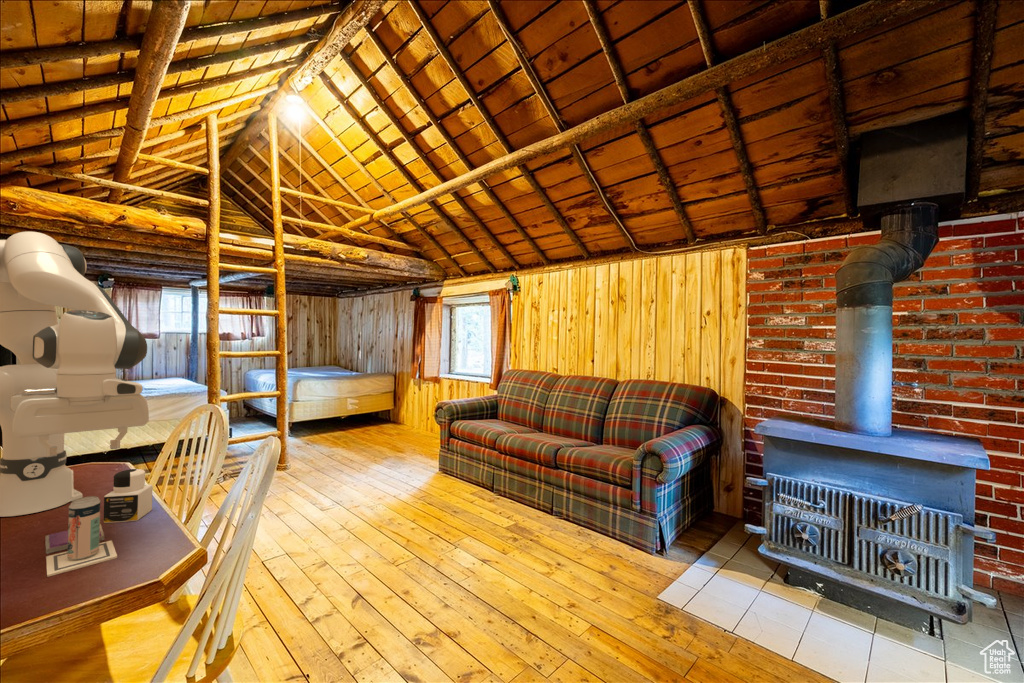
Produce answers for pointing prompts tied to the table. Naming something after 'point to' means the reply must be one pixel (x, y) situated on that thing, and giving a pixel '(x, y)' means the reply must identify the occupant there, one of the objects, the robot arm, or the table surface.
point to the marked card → (63, 564)
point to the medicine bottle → (128, 497)
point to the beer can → (83, 528)
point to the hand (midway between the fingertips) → (84, 452)
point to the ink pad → (62, 541)
